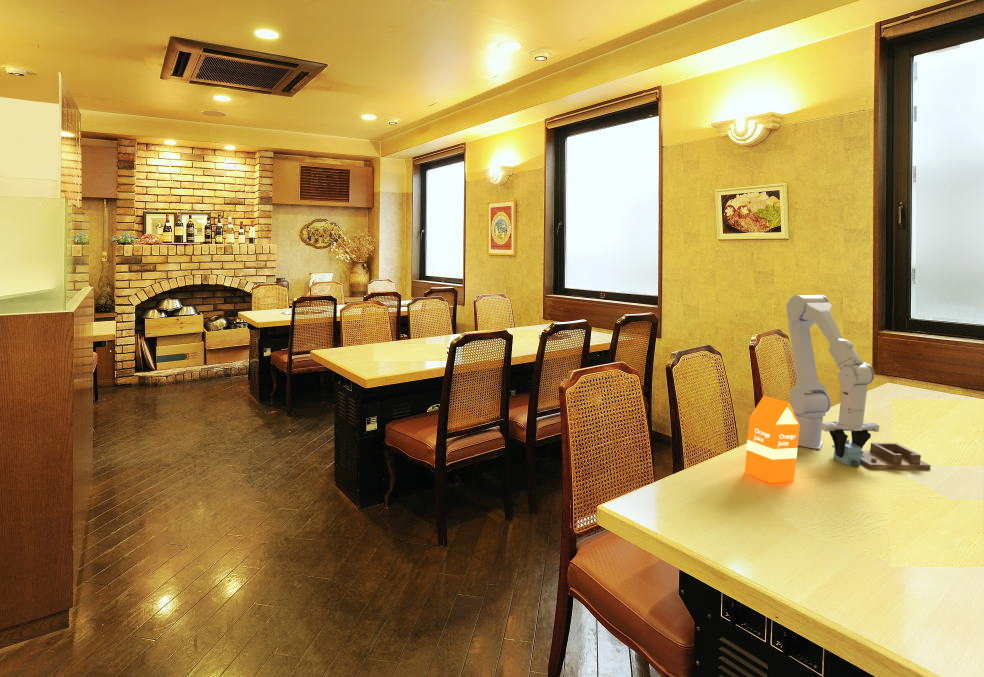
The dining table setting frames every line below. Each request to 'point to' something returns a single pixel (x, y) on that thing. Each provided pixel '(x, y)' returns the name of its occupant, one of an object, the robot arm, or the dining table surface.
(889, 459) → the board
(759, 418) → the orange juice
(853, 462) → the block
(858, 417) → the robot arm
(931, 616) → the dining table surface
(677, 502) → the dining table surface
